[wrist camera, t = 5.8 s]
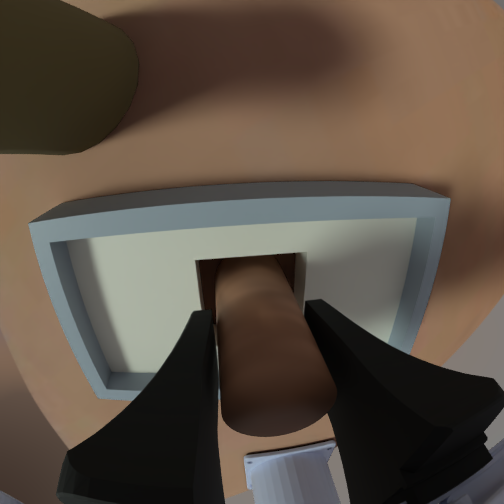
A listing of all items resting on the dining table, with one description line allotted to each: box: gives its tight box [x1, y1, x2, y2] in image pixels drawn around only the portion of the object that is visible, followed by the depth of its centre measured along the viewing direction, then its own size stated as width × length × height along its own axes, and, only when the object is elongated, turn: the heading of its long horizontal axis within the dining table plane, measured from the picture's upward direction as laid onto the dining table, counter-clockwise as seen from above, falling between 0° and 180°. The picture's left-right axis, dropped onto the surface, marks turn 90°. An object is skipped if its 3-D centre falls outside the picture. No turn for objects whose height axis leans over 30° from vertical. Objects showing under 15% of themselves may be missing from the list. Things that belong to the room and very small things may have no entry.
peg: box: [215, 254, 337, 437], centre depth 10 cm, size 3×3×7 cm
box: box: [28, 181, 451, 401], centre depth 12 cm, size 9×16×3 cm, turn 91°
